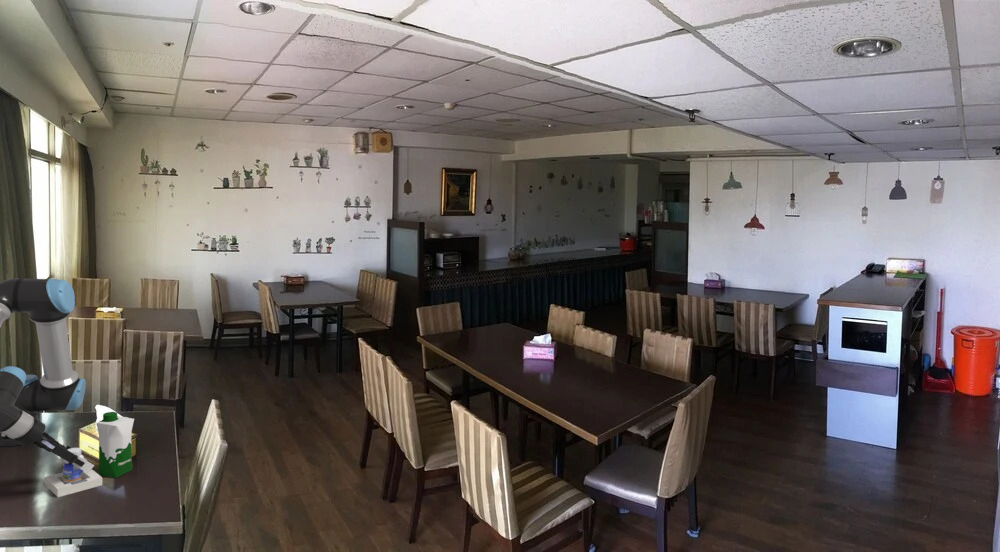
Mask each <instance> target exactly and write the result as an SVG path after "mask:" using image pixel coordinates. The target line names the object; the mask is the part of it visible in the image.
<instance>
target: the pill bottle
mask: <svg viewBox="0 0 1000 552" xmlns="http://www.w3.org/2000/svg"><path fill="white" fill-rule="evenodd" d="M68 451H70V452H72V453H73V454H75V455H78V456H79V457H81V458H83V459H84V458H85V457H84V455H83V454H82V448H80V447H71V448H70V449H68ZM68 463H69V462H67V461H66V460H64V459H62V473H63V481H64V482H65V484H67V483H71V482H75V481H79V480H83V470H81V469H80V468H78V467H76V466H74V465H73V464H70V465H68Z"/></svg>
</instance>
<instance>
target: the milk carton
mask: <svg viewBox="0 0 1000 552" xmlns="http://www.w3.org/2000/svg"><path fill="white" fill-rule="evenodd" d="M134 421H135V418H131V417H127V416H120V415H118V412H116V411H108V412H104V413H103V414H102V419H101V420H99V421H97V422H95V423H96V428H97V432H98V469H97V474H99V475H100V476H101V477H102V476H103V477H107V478H115V479H116V478H118V477H120V476H123V475H124V474H127V473H128V472H129V473H130V472H131V471H132V470H134V469H133V461H132V431H133V426H134Z"/></svg>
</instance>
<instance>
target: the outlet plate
mask: <svg viewBox="0 0 1000 552" xmlns="http://www.w3.org/2000/svg"><path fill="white" fill-rule="evenodd" d="M44 485H45V487H46V488H47V489H48V490H49V491H51V492H52V494H54V495H55V496H56V497H57V498H60V497H65V496H67V495H68V496H69V495H71V494H76V493H79V492H82V491H86V490H89V489H93V488H97V487H100V486H103V477H102V475H99V474H98V472H96V471H95V470H93V468H92V469H91V470H90V471H89V472H88V473H86V472H85V471H83V479H82V480H79V481H75V482H71V483H66V482H64V481H63V472H59V473H56V474H51V475H47V476H44Z"/></svg>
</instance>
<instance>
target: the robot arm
mask: <svg viewBox="0 0 1000 552" xmlns="http://www.w3.org/2000/svg"><path fill="white" fill-rule="evenodd" d="M75 299H76V297H75V292H74V288H73V286H72V285H71V283H70V282H69V281H68V280H65V279H57V278H20V277H18V278H16V277H15V278H9V279H6V280H2V281H1V282H0V328H1V327H2V325H3V323H4V321H7V319H10V317H11V315H12V314H13V313H27V314H28V318H29V320H30V321H31V322H33V323H35V329H36V334H37V339H38V345H39V351H40V352H39V353H40V356H41V358H40V359H41V363H42V370H43V371H42V372H43V375H42V376H41V378H40V379H39V377H38V376H37V375H36V374H27V373H26V372H25V370H23V369H22V368H20V367H17V366H11V365H8V366H4V367H2V368H0V447H17V446H24V447H27V446H30V445H32V444H35V445H36V447H38V448H40V449H43V450H45V451H46V452H49V453H50V452H51V453H53V454H54V455H56V456H57V457H59V458H61V459H62V460H63V459H64V460H66V461H67V462H69V463H68V465H70V464H73V465H74V466H76V467H78V468H80V469H81V470H83V471H85V472H86V473H88V472H89V471H90V470H91V469H92V470H93V468H94V467H95V465H94V464H93V463H91V462H89V461H88V459H87V458H85V457H84V459H83V458H81V457H79V456H78V455H75V454H73V453H72V452H70V451H68V449H71V448H72V447H71V446H69V445H67V446H65V445H64V444H61V443H59V441H58V440H56V439H55V438H54V437H52V436H51V435H50V434H49V433H47V432H46V431H45V430H46V425H45V423H44V422H41V421H40V419H39V416H38V415H39V414H38V412H55V411H58V412H59V411H67V412H68V411H75V410H77V409H79V408H80V407H81V406H82V403H83V401H84V397H85V393H86V386H87V381H86V379H85V378H83V377H81V378H80V377H79V373H78V372H77V371H76V370H73V362H72V355H71V349H70V342H69V333H68V328H67V321H66V319H67V318H68V317H69V316H70V314H71V312H73V311H74V309H75V303H76V301H75Z"/></svg>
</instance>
